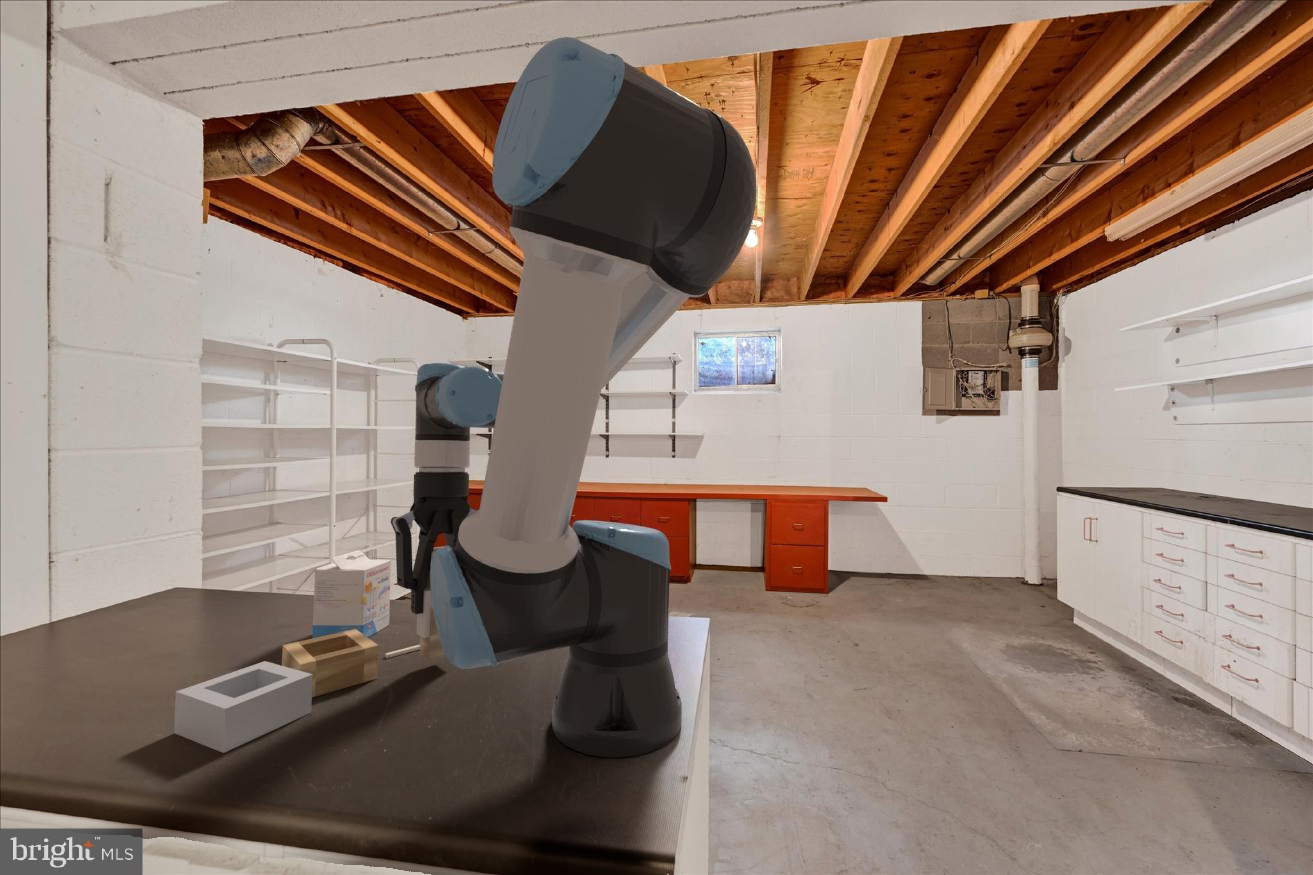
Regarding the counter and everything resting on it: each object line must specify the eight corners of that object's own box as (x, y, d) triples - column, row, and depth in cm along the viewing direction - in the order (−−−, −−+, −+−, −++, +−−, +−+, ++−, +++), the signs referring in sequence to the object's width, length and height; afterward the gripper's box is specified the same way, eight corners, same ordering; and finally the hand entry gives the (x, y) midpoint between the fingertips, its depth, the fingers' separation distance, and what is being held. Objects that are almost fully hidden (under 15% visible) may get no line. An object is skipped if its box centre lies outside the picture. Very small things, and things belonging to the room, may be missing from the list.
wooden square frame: (377, 678, 70) (378, 645, 71) (299, 701, 64) (300, 664, 64) (354, 659, 76) (355, 628, 77) (281, 678, 70) (282, 645, 70)
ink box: (361, 642, 83) (364, 559, 83) (310, 641, 83) (313, 558, 84) (390, 624, 92) (392, 549, 92) (343, 623, 92) (346, 548, 92)
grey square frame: (311, 712, 61) (312, 674, 61) (223, 753, 53) (225, 708, 53) (263, 697, 65) (264, 661, 65) (174, 733, 56) (175, 691, 56)
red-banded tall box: (455, 653, 75) (458, 549, 75) (430, 660, 72) (433, 552, 73) (444, 646, 77) (446, 546, 78) (419, 653, 74) (422, 549, 75)
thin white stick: (451, 640, 85) (451, 637, 85) (386, 658, 77) (387, 654, 77) (449, 639, 85) (449, 636, 85) (385, 656, 78) (385, 653, 78)
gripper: (481, 469, 84) (478, 613, 83) (371, 470, 72) (366, 640, 71) (506, 470, 79) (503, 624, 78) (392, 471, 67) (387, 654, 66)
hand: (438, 631), depth 75 cm, fingers closed on red-banded tall box, 4 cm apart
